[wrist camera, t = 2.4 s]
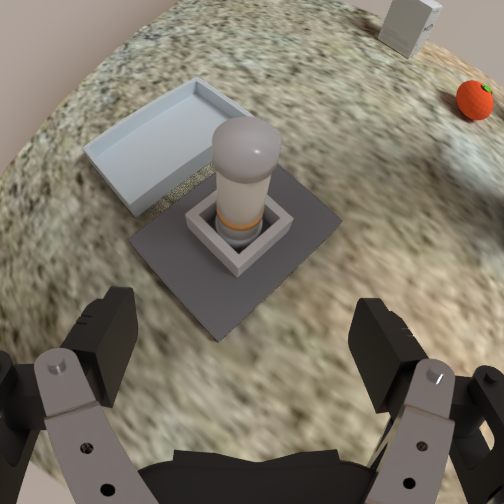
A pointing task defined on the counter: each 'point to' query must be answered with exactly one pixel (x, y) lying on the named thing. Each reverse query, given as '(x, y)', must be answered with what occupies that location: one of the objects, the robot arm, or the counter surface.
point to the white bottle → (243, 176)
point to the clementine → (475, 100)
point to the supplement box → (409, 25)
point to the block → (232, 250)
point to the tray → (161, 143)
